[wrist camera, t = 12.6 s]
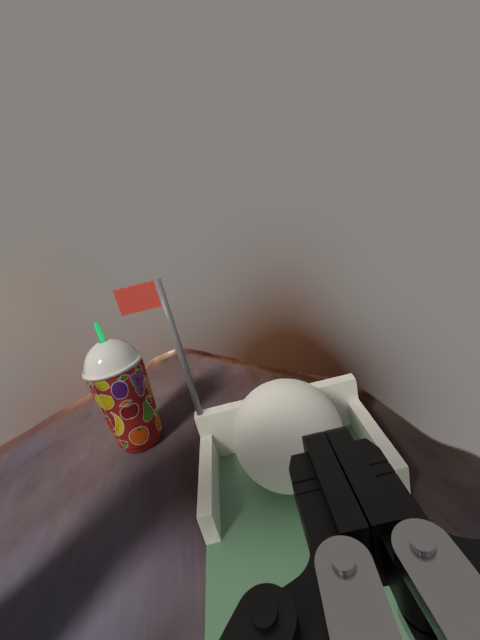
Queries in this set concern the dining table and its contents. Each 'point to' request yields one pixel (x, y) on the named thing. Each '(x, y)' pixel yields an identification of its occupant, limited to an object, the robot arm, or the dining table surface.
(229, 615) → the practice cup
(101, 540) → the dining table surface
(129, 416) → the smoothie
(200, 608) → the dining table surface
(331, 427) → the ball
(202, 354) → the dining table surface
